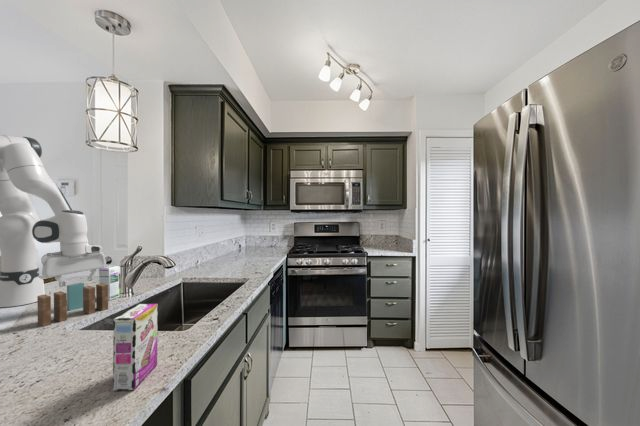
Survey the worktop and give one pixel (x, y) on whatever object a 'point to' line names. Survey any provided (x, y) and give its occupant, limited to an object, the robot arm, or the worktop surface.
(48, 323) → the domino
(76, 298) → the domino
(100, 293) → the domino
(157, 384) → the worktop surface
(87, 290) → the domino
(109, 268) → the syrup box
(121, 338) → the candy bar box
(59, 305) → the domino
